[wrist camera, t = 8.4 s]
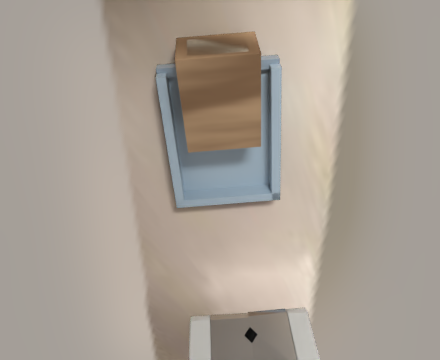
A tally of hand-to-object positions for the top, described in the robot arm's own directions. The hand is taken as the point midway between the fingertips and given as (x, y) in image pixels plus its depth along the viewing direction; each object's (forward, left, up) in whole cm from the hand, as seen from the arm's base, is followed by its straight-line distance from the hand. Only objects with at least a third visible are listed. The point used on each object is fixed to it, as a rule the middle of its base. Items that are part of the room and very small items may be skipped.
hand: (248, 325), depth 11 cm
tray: (+8, 0, -27) cm, 28 cm away
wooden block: (-1, 0, -24) cm, 24 cm away
